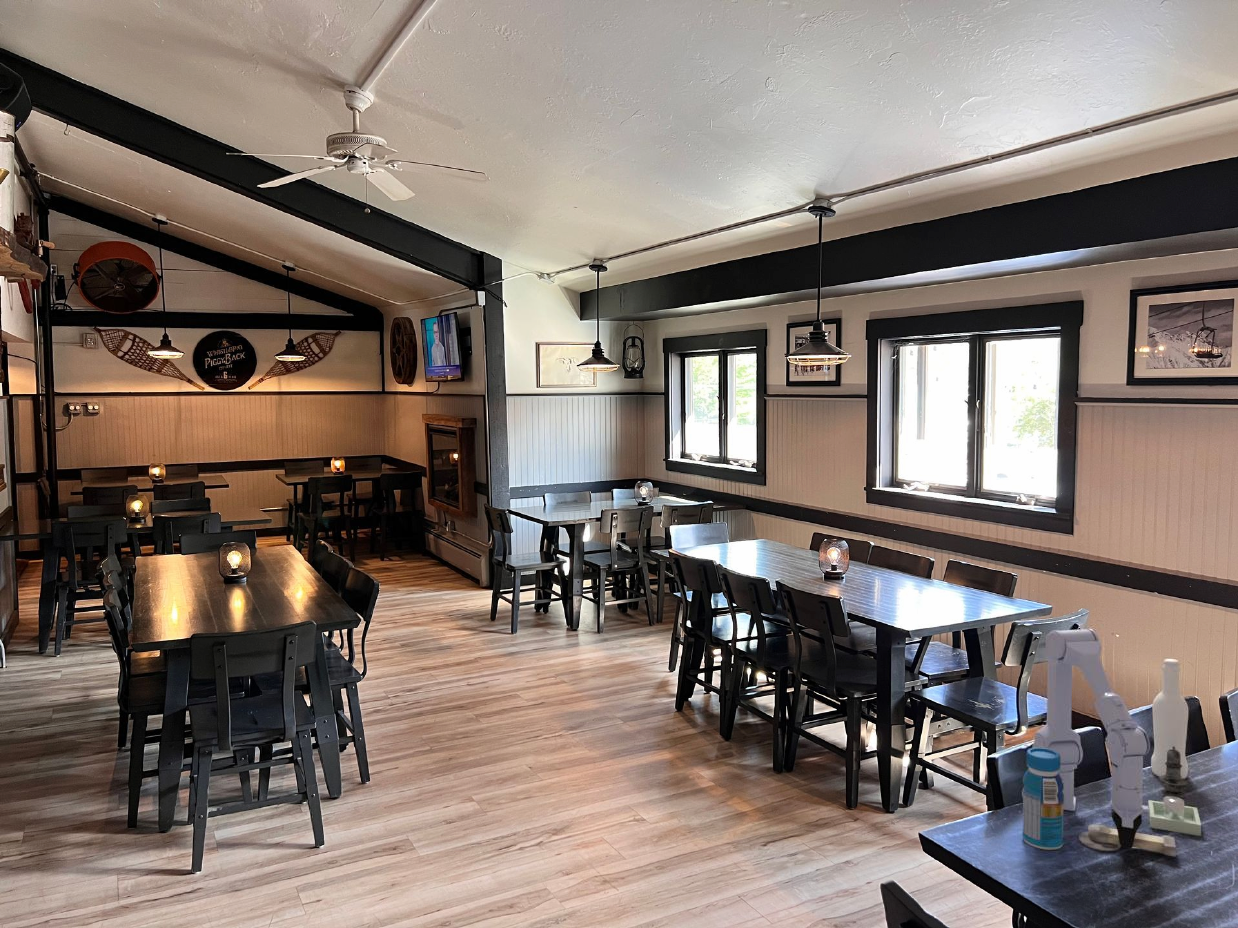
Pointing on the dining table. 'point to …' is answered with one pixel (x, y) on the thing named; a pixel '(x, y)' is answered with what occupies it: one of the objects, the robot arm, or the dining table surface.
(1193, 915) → the dining table surface
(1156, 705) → the bottle
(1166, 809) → the piston stop
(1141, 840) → the beige flat bar
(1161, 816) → the tray
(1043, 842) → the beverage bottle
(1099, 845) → the crank base
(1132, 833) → the robot arm
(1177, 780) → the dark grey tiered tower
